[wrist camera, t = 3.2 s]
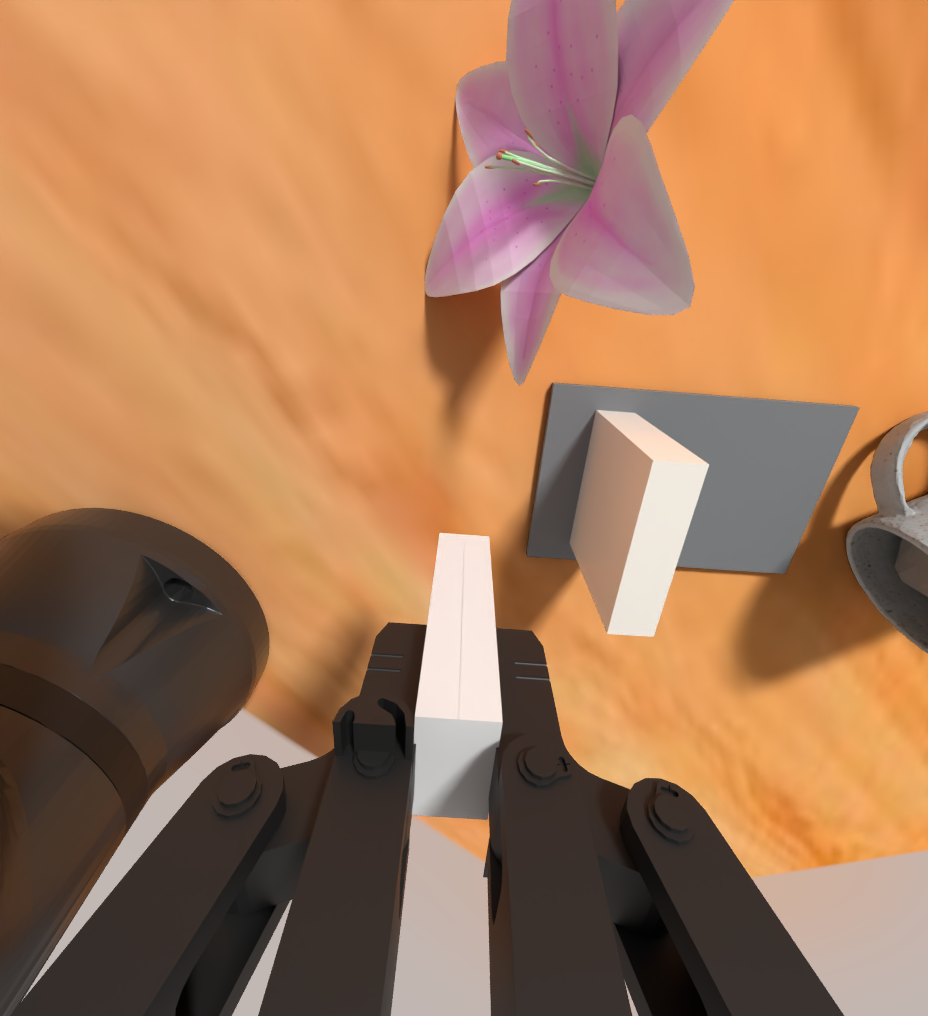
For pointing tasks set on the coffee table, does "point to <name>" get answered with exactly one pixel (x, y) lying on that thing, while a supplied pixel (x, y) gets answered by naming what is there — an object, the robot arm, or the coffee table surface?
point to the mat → (730, 476)
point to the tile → (633, 518)
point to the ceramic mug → (895, 539)
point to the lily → (571, 165)
